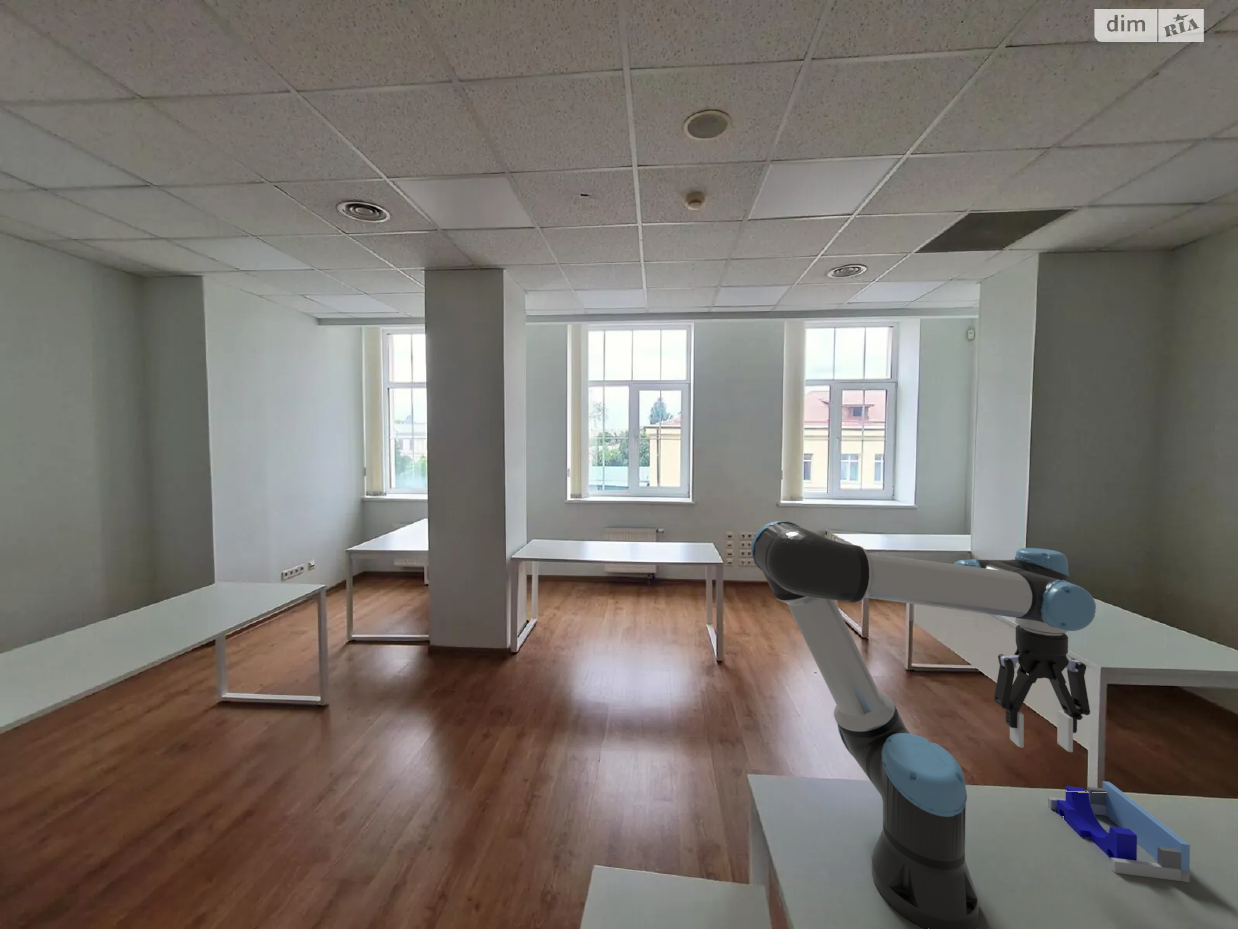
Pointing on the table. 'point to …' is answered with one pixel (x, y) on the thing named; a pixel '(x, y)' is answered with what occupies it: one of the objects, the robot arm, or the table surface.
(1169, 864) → the blue wall bracket
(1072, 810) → the blue arched bracket piece
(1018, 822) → the table surface
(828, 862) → the table surface
